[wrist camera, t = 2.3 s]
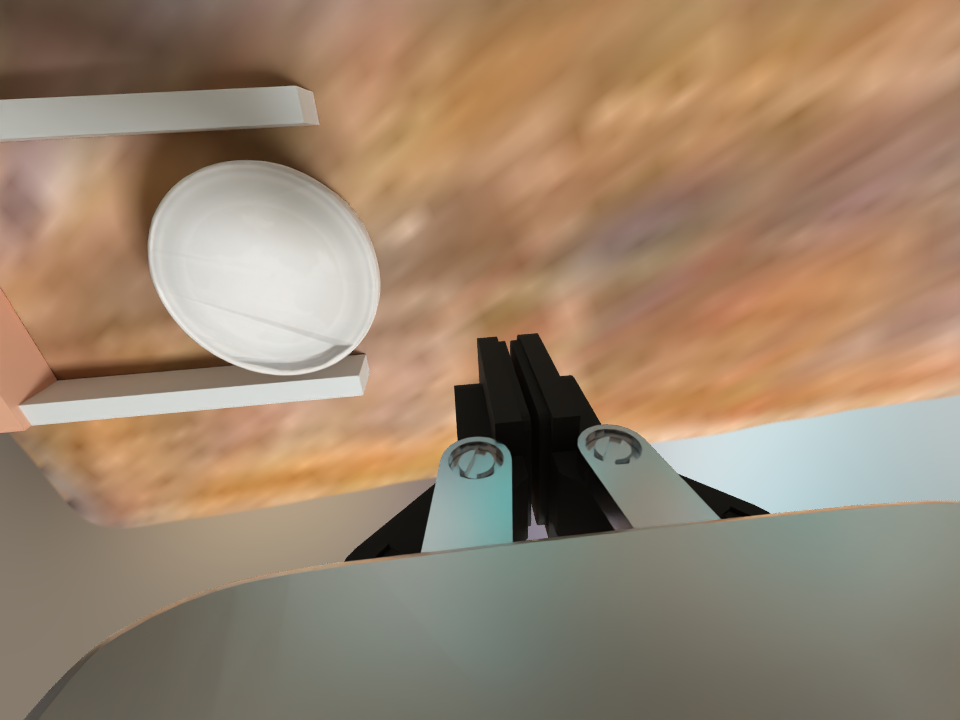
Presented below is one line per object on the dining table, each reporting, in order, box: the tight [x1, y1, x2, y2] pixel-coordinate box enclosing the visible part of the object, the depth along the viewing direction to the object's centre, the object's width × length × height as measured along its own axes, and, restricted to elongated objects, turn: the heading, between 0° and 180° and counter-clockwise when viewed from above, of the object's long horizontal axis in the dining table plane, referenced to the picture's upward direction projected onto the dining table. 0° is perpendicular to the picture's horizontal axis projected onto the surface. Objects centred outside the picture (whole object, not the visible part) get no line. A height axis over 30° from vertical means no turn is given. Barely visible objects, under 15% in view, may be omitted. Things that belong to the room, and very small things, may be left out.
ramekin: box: [147, 160, 380, 375], centre depth 23 cm, size 11×11×5 cm
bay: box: [0, 86, 370, 433], centre depth 24 cm, size 17×22×4 cm
